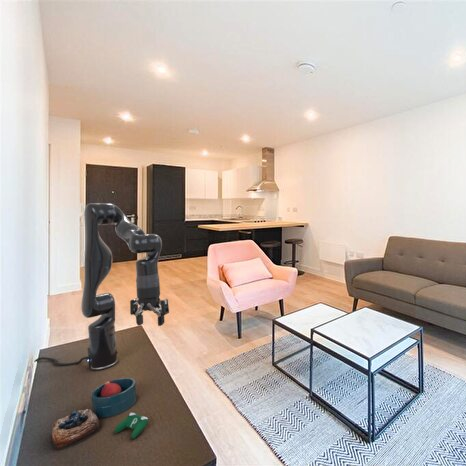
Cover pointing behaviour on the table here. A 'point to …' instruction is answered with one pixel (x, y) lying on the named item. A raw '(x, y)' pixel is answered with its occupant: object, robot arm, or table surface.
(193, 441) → the table surface
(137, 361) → the table surface
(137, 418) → the gaming controller
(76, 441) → the pastry
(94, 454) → the table surface
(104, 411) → the pot
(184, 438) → the table surface
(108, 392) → the onion
